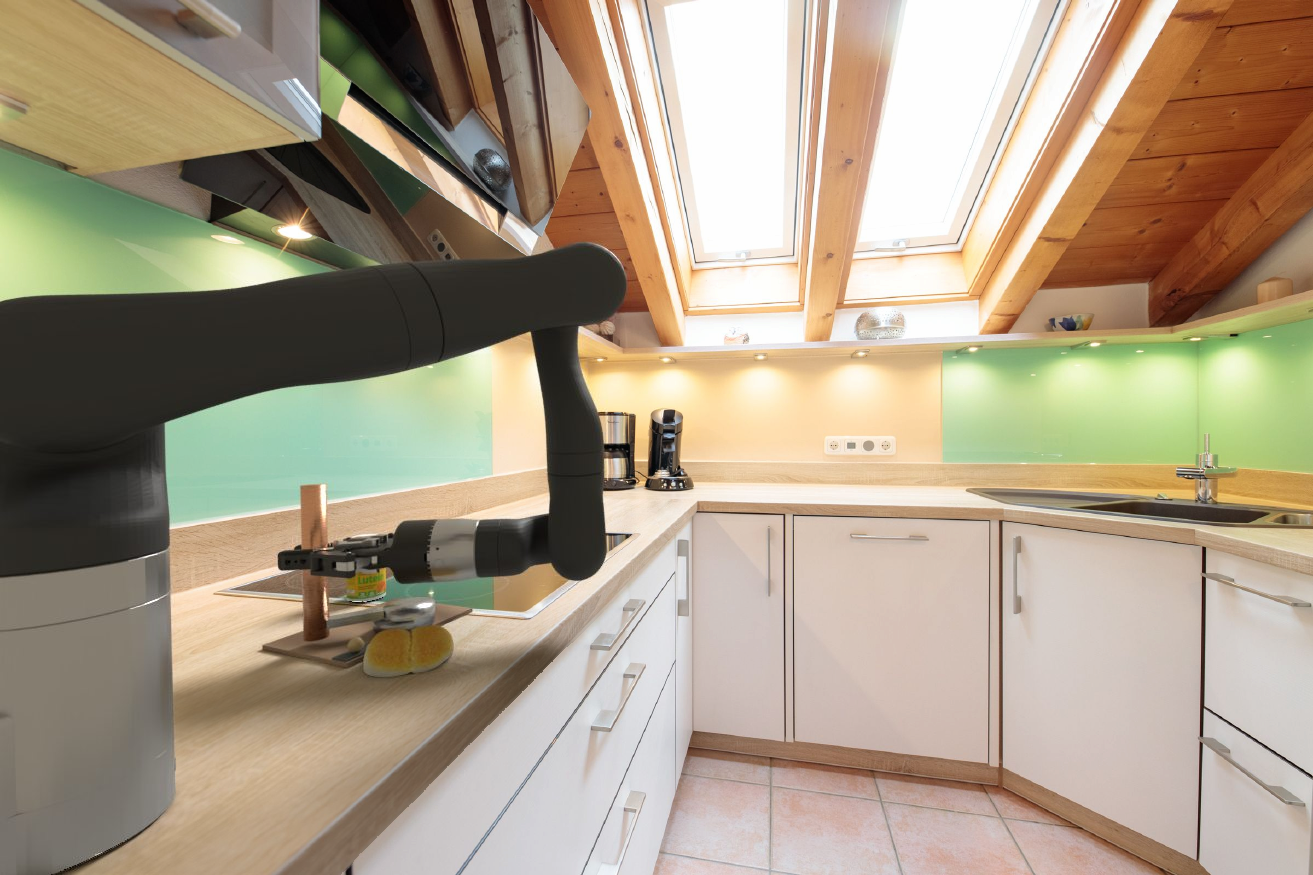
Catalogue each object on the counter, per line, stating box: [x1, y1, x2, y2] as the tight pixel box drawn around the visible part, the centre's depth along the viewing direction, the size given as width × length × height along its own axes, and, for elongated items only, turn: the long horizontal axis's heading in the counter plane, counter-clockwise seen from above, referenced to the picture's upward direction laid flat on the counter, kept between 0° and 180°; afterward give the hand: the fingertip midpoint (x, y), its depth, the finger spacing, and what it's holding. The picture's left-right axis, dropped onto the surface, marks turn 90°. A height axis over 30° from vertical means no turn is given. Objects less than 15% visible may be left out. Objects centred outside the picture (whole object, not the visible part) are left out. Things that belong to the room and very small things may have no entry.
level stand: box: [261, 597, 473, 669], centre depth 67 cm, size 19×14×2 cm
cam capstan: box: [299, 483, 436, 642], centre depth 64 cm, size 14×6×18 cm, turn 122°
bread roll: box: [362, 625, 455, 678], centre depth 58 cm, size 8×9×4 cm
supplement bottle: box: [345, 533, 387, 602], centre depth 81 cm, size 5×5×10 cm
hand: (288, 557), depth 61 cm, fingers closed on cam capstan, 2 cm apart
